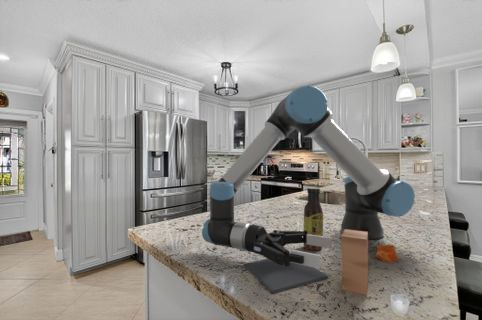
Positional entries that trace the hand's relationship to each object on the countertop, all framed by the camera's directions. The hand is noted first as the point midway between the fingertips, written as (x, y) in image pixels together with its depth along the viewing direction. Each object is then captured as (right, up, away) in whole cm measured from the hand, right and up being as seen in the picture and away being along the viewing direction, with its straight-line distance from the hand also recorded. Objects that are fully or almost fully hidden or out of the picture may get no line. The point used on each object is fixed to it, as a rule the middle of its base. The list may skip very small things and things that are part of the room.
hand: (326, 251), depth 57 cm
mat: (-10, -7, +4) cm, 13 cm away
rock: (+22, -8, +13) cm, 27 cm away
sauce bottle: (+3, -7, +21) cm, 23 cm away
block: (+6, -7, -3) cm, 9 cm away
